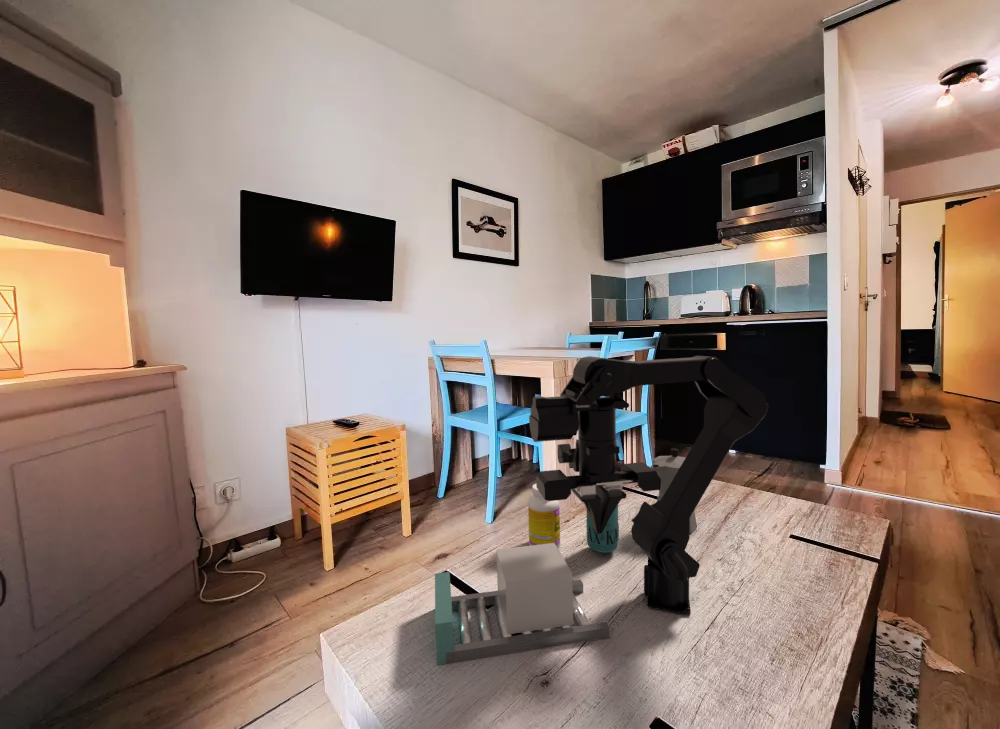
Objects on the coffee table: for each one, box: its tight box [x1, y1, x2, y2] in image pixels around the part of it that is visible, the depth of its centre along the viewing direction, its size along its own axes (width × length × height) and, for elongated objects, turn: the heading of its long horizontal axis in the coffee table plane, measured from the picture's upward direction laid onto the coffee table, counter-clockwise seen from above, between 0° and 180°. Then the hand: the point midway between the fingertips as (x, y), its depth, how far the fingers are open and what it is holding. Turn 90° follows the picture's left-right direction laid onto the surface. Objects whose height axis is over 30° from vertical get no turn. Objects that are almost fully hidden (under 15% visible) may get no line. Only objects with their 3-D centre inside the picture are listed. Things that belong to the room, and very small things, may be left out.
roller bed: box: [434, 571, 611, 666], centre depth 64 cm, size 12×25×6 cm, turn 99°
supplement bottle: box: [527, 483, 561, 549], centre depth 86 cm, size 7×7×13 cm
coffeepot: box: [650, 448, 698, 534], centre depth 93 cm, size 15×9×18 cm, turn 112°
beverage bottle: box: [585, 492, 620, 553], centre depth 83 cm, size 6×7×20 cm
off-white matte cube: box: [495, 543, 574, 635], centre depth 64 cm, size 10×9×8 cm
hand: (598, 532), depth 65 cm, fingers closed
